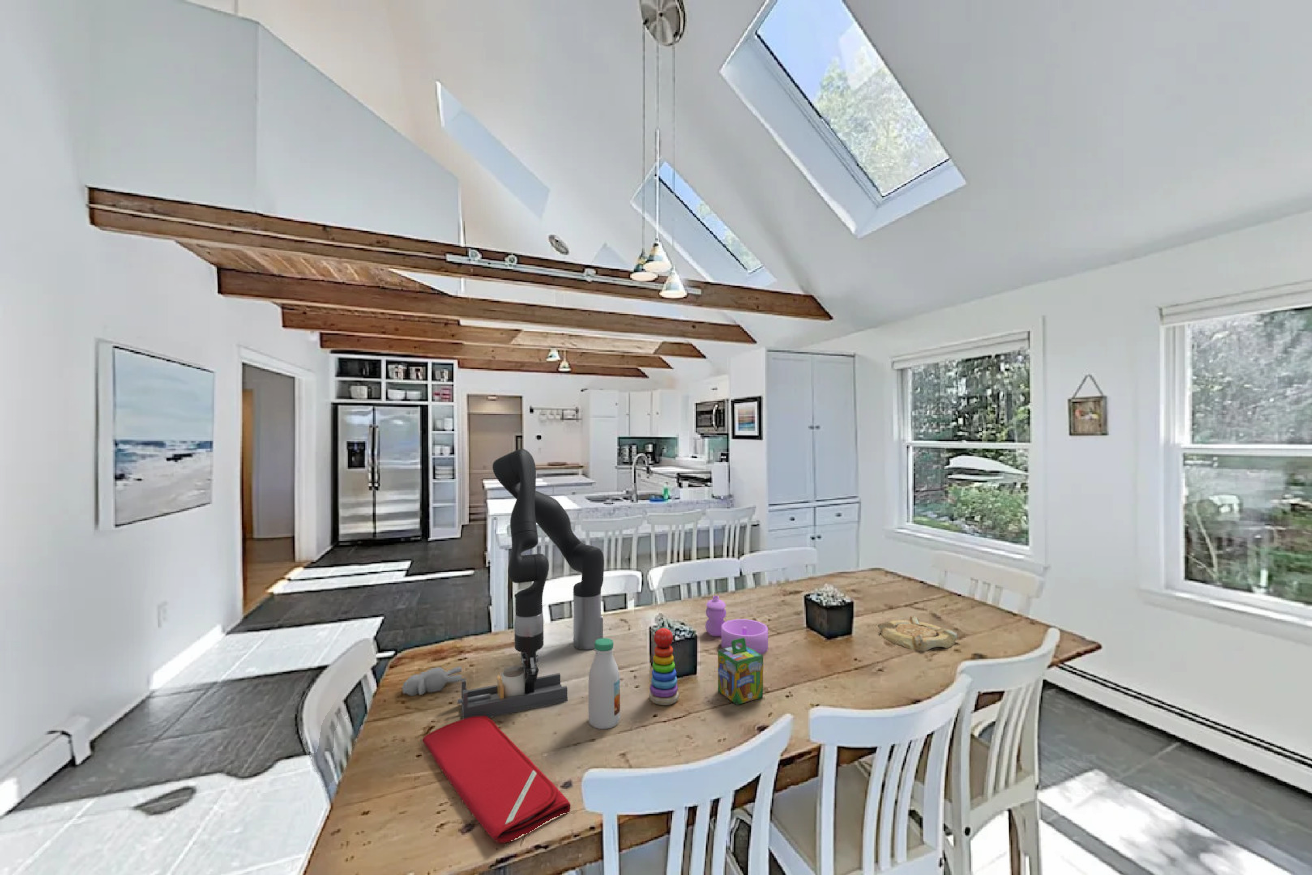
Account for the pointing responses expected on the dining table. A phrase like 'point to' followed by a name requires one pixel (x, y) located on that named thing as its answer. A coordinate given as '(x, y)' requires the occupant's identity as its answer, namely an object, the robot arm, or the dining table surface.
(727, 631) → the container set
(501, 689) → the pusher
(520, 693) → the spice jar
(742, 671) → the chalk box
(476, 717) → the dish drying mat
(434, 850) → the dining table surface
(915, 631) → the ashtray
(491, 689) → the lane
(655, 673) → the stacking toy
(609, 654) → the milk bottle
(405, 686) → the bunny figurine
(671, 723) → the dining table surface
